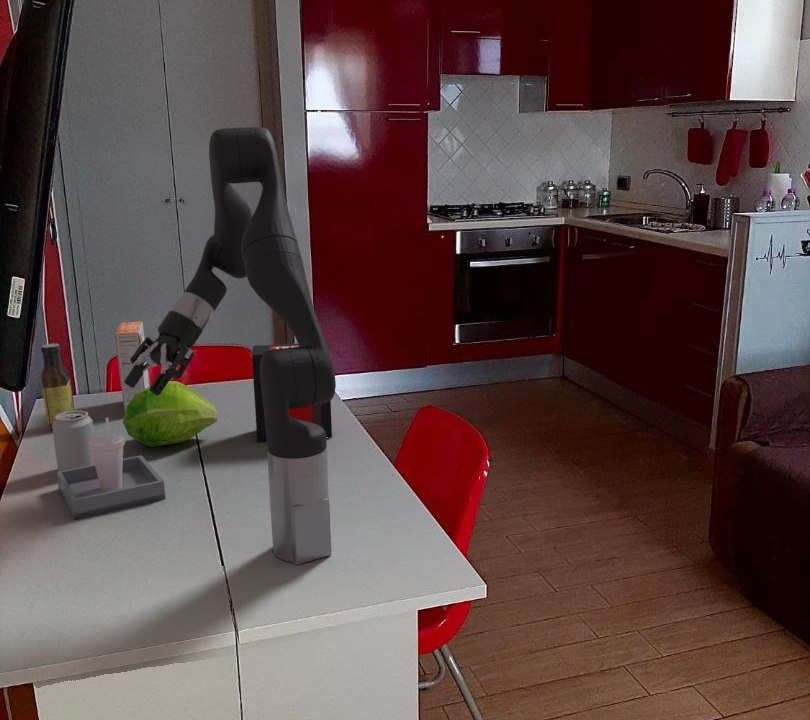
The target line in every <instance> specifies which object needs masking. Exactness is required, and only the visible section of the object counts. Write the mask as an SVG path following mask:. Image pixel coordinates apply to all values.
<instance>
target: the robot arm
mask: <svg viewBox="0 0 810 720" xmlns="http://www.w3.org/2000/svg"><path fill="white" fill-rule="evenodd" d="M208 146H209V147H208V156H209V157H208V159H209V169H210V170H209V172H210V179H211V181H210V182H211V189H212V196H213V197H212V198H213V204H214V223H213V234H212V235H211V236H209V238H208V240H206V243H205V246H204V249H203V252H202V255H201V259H200V262H199V264H198V268H197V270H196V272H195V274H194V276H193V278H192V279H191V280H190V283H189V284H188V285H187V286H186V289H185V290H184V291H183V293H182V294H181V295H180V296H179V297H178V298H177V299H176V300H175V302H174V303H173V305H172V307H171V308H170V309H169V311H167V314H166V315H165V317H164V318H163V320H162V321H161V323H160V324H159V325H158V327H157V332H158V334H159V335H158V337H157V338H156V339H155V340H153V339H151V338H150V337H149V336H147V337H144V339H145V340H144V341H143V342H142V344H141V345H140V346H139V348H138V349H137V350H136V352H135V353H134V355H133V356H132V357H131V359H130V361H131V362H132V363H133V365H134V367H133V369H132V370H131V371H130V373H129V374H128V376H127V377H126V379H125V381H124V383H125V384H127V385H128V386H129V387H132V388H134V387H135V385H136V384H137V382H138V381H139V380H140V378H141V377H142V375H143V374H144V373H143V372H144V371H146V370H147V369H148V370H149V369H150V368H155V367H157V365H158V366H161V369H160V373H158V375H157V376H156V378H155V379H154V380H153V382H152V384H151V385H150V386H151V387H150V388H149V390H150V392H152V393H153V394H154V395H157V396H158V395H160V393H161V392H162V391H163V389H164V388H165V386H166V385H167V383H168V382H169V381H173V379H174V378H175V379H179V380H180V379H181V378H182V376H183V374H184V373H185V372H186V370H187V368H188V366H189V365H190V363H191V362H192V359H193V358H194V356H195V352H194V351H193V350H192V348H193V347H194V346H195V344H196V343H197V341H198V340H199V338H200V337H201V336H202V333H203V331H204V330H205V329H206V327H207V326H208V324H209V322H210V320H211V318H212V316H213V314H214V313H215V311H216V310H217V308H218V307H219V305H220V304H221V302H222V300H223V299H224V297H225V296H226V294H227V289H228V288H227V286H226V284H225V283H224V282H223V280H221V279H220V278H219V276H217V275H216V274H215V273H214V272H213V269H214V268H216V269H218V270H219V271H221V272H223V273H224V274H227V275H229V276H230V277H232V278H234V279H244V278H246V277H247V281H248V284H249V285H250V287H251V288H252V289H253V291H254V293H255V294H256V295H257V296H258V297H259V298H260V299H261V300H262V301H263V302H264V303H265V304H266V305H267V306H268V307H269V308H270V309H271V310H273V311H274V312H275V313H276V314H277V315H278V316H279V317H280V318H281V319H282V320H283V321H284V323H286V325H287V326H288V327H289V329H290V331H291V333H293V335H294V337H295V339H296V341H297V344H299V347H291V348H281V349H273V350H268V351H266V352H265V353H264V354H263V355H262V358H261V362H260V381H261V390H262V398H263V406H264V417H265V430H266V439H267V442H266V453H267V467H268V469H267V470H268V472H267V473H268V485H269V486H268V487H269V503H270V504H269V506H270V522H271V523H270V524H271V537H272V552H273V554H274V555H275V557H276V558H279V560H282V561H287V562H291V563H293V564H295V565H297V566H298V565H301V564H304V563H307V562H310V561H314V560H318V559H321V558H325V557H329V556H331V555H332V532H331V510H330V509H331V508H330V497H329V495H330V493H329V476H328V475H329V473H328V470H329V469H328V447H327V445H328V443H327V439H328V438H326V433H325V430H324V429H323V428H322V427H321V426H319V425H317V424H314V423H310V422H306V421H301V420H297V419H294V418H292V417H290V416H289V413H288V410H289V409H290V408H297V407H304V406H310V405H318V404H323V403H327V402H329V401H331V402H332V400H333V399H334V397H335V394H336V386H337V385H336V382H337V381H336V374H335V369H334V364H333V361H332V358H331V355H330V351H328V350H329V347H328V348H327V346H328V344H327V345H326V343H327V342H326V340H325V337H324V333H323V331H322V328H321V325H320V322H319V319H318V317H317V314H316V311H315V308H314V304H313V301H312V297H311V294H310V293H311V292H310V289H309V284H308V280H307V276H306V271H305V267H304V262H303V258H302V254H301V249H300V247H299V243H298V240H297V236H296V233H295V230H294V226H293V223H292V219H291V215H290V212H289V207H288V205H287V204H288V203H287V201H286V199H287V198H286V196H285V191H284V184H283V179H282V174H281V169H280V163H279V158H278V153H277V146H276V144H275V141H274V137H273V136H272V134H271V132H270V130H268V129H267V128H265V127H263V126H262V127H261V126H245V127H226V128H219V129H215V130H214V131H213V132H212V134H211V135H210V138H209V143H208ZM246 183H247V184H249V183H260V184H261V186H262V191H261V195H260V198H259V201H258V204H257V207H256V208H255V211H254V213H253V215H252V209H251V206H250V205H249V203H248V202H247V200H246V199H245V198H244V197H243V196H242V195H241V194H240V193H239V191H237V190H236V189H235V188H234V187H233V185H234V184H246ZM232 184H233V185H232ZM140 354H141V355H142V356H141V357H140V358H139V359H137V358H138V357H139V355H140ZM145 362H147V363H146V364H145V365H144V363H145ZM178 367H179V369H178Z"/></svg>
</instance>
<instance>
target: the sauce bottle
mask: <svg viewBox="0 0 810 720" xmlns="http://www.w3.org/2000/svg"><path fill="white" fill-rule="evenodd" d="M40 351H41V354H42V357H43V369H42V371H41V373H40V380H41V388H42V390H41V391H42V396H43V402H44V406H45V407H44V408H45V414H46V415H45V417H46V421H47V424H48V425H47V426H48V428H49V429H50V430H52V429H53V428H52V424H53V423H54V421H55V420H56V419H55V416H56V415H58V414H60V413H63V412H68V411H76V409H75V404H74V403H75V402H74V397H73V389H72V383H71V378H70V377H71V376H70V375H69V373H68V371H67V369H66V367H65V366H64V363H63V361H62V356H61V345H60V344H59V343H48V344H47V343H46V344H44V345H40Z"/></svg>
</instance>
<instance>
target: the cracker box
mask: <svg viewBox="0 0 810 720" xmlns="http://www.w3.org/2000/svg"><path fill="white" fill-rule="evenodd" d="M114 337H115V344H116V353H117V354H116V355H117V361H118V368H119V369H118V370H119V378H120V387H121V395H122V397H121V398H122V403H123V410H124V411H123V412H124V413H123V414H125V411H126V407H127V405H128V404H129V403H130V401H131V400H132V398H133V397H134V396H135V394H136V393H138V392H139V391H141V390H143V389H145V388H147V387H149V386H151V385H150V378H149V369H147V370H146V371H144V372H143V373H144V374H143V375H142V377H141V378H140V380H139V381H138V382H137V384H136V385H135V387H134V388H132V387H129V386H128V385H127V384H125V383H124V381H125V379H126V377H127V376H128V374H129V373H130V371H131V370H132V369H133V367H134V365H133V363H132V362H131V361H130V359H131V357H132V356H133V355H134V353H135V352H136V350H137V349H138V348H139V346H140V345H141V344H142V342H143V341H144V340H145V331H144V322H143V321H140V320H139V321H126V322H125V321H123V322H121V323H119V325H118V327H117V329H116V332H115V334H114ZM141 356H142V355H141V354H140V355H139V357H138V358H137V359H139V358H140V357H141ZM146 363H147V362H145V363H144V365H145V364H146Z"/></svg>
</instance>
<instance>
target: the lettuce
mask: <svg viewBox="0 0 810 720" xmlns="http://www.w3.org/2000/svg"><path fill="white" fill-rule="evenodd" d="M150 387H151V385H150V386H149V387H147V388H145V389H143V390H141V391H139V392H138V393H136V394H135V396H134V397H133V398H132V400H131V401H130V403H129V404H128V405H127V407H126V411H125V413H124V417H123V420H122V424H123V426H124V428H125V430H126V432H127V435H128V436H129V437H131V438H133V439H135V441H138V442H140V443H142V444H144V445H146V446H148V447H151V448H153V447H159V446H167V445H174V444H180V443H183V442H186V441H188V440H191V439H192V438H193V437H195V436H196V435H198V434H199V433H201V432H202V431H203V430H205V429H206V428H208V427H210V426H212V425H213V424H215V423H217V422H218V420H219V419H218V418H219V417H218V410H217V408H216V407H215V406H214V405H213V404H212V403H210V401H208V400H207V399H206V398H205V397H203V395H201V394H200V393H199V392H197V391H196V390H194V389H193V388H191V387H190V386H188V385H185V384H184V383H181V382H179V381H176V380H175V381H174V380H169V382H168V383H167V385H166V386H165V388H164V389H163V391H162V392H161V393H160V395H158V396H157V395H154V394H153V393H152V392H150V390H149V388H150Z"/></svg>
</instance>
